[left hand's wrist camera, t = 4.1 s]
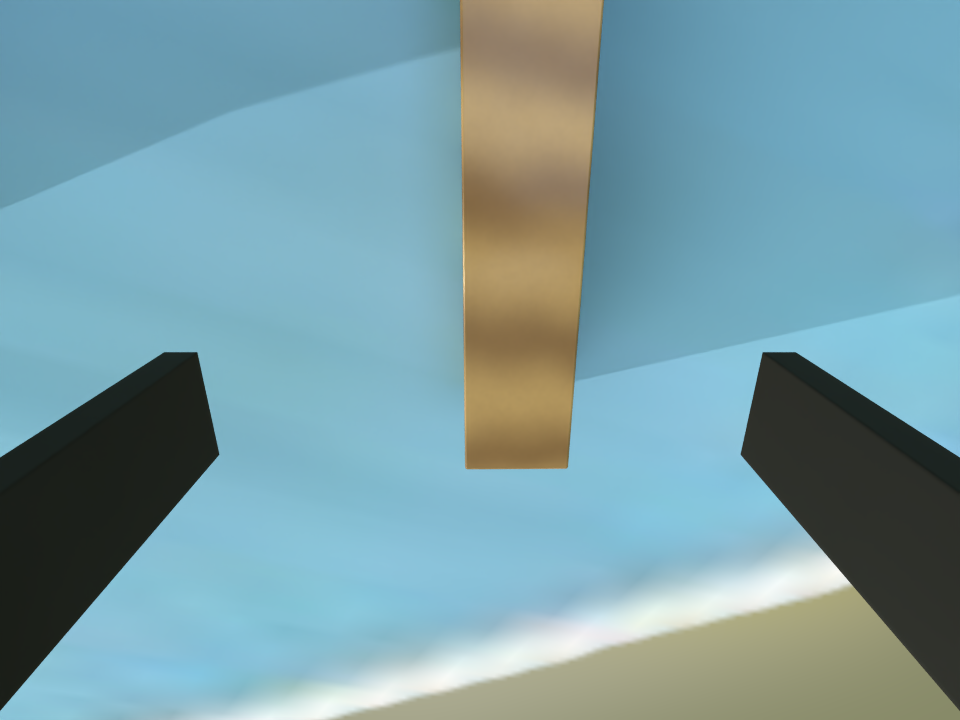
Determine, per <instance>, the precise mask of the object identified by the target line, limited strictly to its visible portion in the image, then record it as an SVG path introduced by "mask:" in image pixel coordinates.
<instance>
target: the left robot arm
mask: <svg viewBox="0 0 960 720" xmlns="http://www.w3.org/2000/svg"><path fill="white" fill-rule="evenodd" d="M218 456H219V451H218V446H217V441H216V437H215V432H214V428H213V423H212V418H211V414H210V409H209V404H208V400H207V395H206V391H205V386H204V381H203V377H202V372H201V367H200V363H199V358H198V354H197V352H164V353H162V354H161V355H159V356H158V357H156V358H155V359H153V360H152V361H150V362H148V363H147V364H145V365H144V366H142V367H141V368H139V369H138V370H136V371H134V372H133V373H131V374H130V375H128V376H127V377H125V378H124V379H122V380H120V381H119V382H117V383H116V384H114V385H113V386H111V387H109V388H108V389H106V390H105V391H103V392H102V393H100V394H99V395H97V396H95V397H94V398H92V399H91V400H89V401H88V402H86V403H85V404H83V405H81V406H80V407H78V408H77V409H75V410H74V411H72V412H70V413H69V414H67V415H66V416H64V417H63V418H61V419H60V420H58V421H56V422H55V423H53V424H52V425H50V426H49V427H47V428H46V429H44V430H42V431H41V432H39V433H38V434H36V435H35V436H33V437H32V438H30V439H28V440H27V441H25V442H24V443H22V444H21V445H19V446H17V447H16V448H14V449H13V450H11V451H10V452H8V453H7V454H5V455H3V456H2V457H0V710H1V709H2V708H3V707H4V706H5V705H6V703H7V702H8V701H9V700H10V699H11V698H12V696H13V695H14V694H15V693H16V692H17V691H18V689H19V688H20V687H21V686H22V685H23V683H24V682H25V681H26V680H27V679H28V678H29V676H30V675H31V674H32V673H33V672H34V671H35V669H36V668H37V667H38V666H39V665H40V664H41V662H42V661H43V660H44V659H45V658H46V657H47V655H48V654H49V653H50V652H51V651H52V650H53V648H54V647H55V646H56V645H57V644H58V643H59V641H60V640H61V639H62V638H63V637H64V636H65V634H66V633H67V632H68V631H69V630H70V629H71V627H72V626H73V625H74V624H75V623H76V622H77V620H78V619H79V618H80V617H81V616H82V615H83V613H84V612H85V611H86V610H87V609H88V608H89V606H90V605H91V604H92V603H93V602H94V601H95V599H96V598H97V597H98V596H99V595H100V593H101V592H102V591H103V590H104V589H105V588H106V586H107V585H108V584H109V583H110V582H111V581H112V579H113V578H114V577H115V576H116V575H117V574H118V572H119V571H120V570H121V569H122V568H123V567H124V565H125V564H126V563H127V562H128V561H129V560H130V558H131V557H132V556H133V555H134V554H135V553H136V551H137V550H138V549H139V548H140V547H141V546H142V544H143V543H144V542H145V541H146V540H147V539H148V537H149V536H150V535H151V534H152V533H153V532H154V530H155V529H156V528H157V527H158V526H159V525H160V523H161V522H162V521H163V520H164V519H165V518H166V516H167V515H168V514H169V513H170V512H171V511H172V509H173V508H174V507H175V506H176V505H177V503H178V502H179V501H180V500H181V499H182V498H183V496H184V495H185V494H186V493H187V492H188V491H189V489H190V488H191V487H192V486H193V485H194V484H195V482H196V481H197V480H198V479H199V478H200V477H201V475H202V474H203V473H204V472H205V471H206V470H207V468H208V467H209V466H210V465H211V464H212V463H213V461H214V460H215V459H216V458H217V457H218ZM741 456H742V457H743V458H744V459H745V460H746V461H747V463H748V464H749V465H750V466H751V467H752V468H753V470H754V471H755V472H756V473H757V474H758V475H759V477H760V478H761V479H762V480H763V481H764V482H765V484H766V485H767V486H768V487H769V488H770V489H771V491H772V492H773V493H774V494H775V495H776V496H777V498H778V499H779V500H780V501H781V502H782V503H783V505H784V506H785V507H786V508H787V509H788V511H789V512H790V513H791V514H792V515H793V516H794V518H795V519H796V520H797V521H798V522H799V523H800V525H801V526H802V527H803V528H804V529H805V530H806V532H807V533H808V534H809V535H810V536H811V537H812V539H813V540H814V541H815V542H816V543H817V544H818V546H819V547H820V548H821V549H822V550H823V551H824V553H825V554H826V555H827V556H828V557H829V558H830V560H831V561H832V562H833V563H834V564H835V565H836V567H837V568H838V569H839V570H840V571H841V572H842V574H843V575H844V576H845V577H846V578H847V579H848V581H849V582H850V583H851V584H852V585H853V586H854V588H855V589H856V590H857V591H858V592H859V593H860V595H861V596H862V597H863V598H864V599H865V600H866V602H867V603H868V604H869V605H870V606H871V608H872V609H873V610H874V611H875V612H876V613H877V615H878V616H879V617H880V618H881V619H882V620H883V622H884V623H885V624H886V625H887V626H888V627H889V629H890V630H891V631H892V632H893V633H894V634H895V636H896V637H897V638H898V639H899V640H900V641H901V643H902V644H903V645H904V646H905V647H906V648H907V650H908V651H909V652H910V653H911V654H912V655H913V656H914V658H915V659H916V660H917V661H918V662H919V664H920V665H921V666H922V667H923V668H924V669H925V671H926V672H927V673H928V674H929V675H930V676H931V677H932V679H933V680H934V681H935V682H936V683H937V685H938V686H939V687H940V688H941V689H942V690H943V692H944V693H945V694H946V695H947V696H948V697H949V699H950V700H951V701H952V702H953V703H954V704H955V706H956V707H957V708H958V709H959V710H960V457H958V456H957V455H955V454H953V453H952V452H950V451H949V450H947V449H946V448H944V447H943V446H941V445H939V444H938V443H936V442H935V441H933V440H932V439H930V438H928V437H927V436H925V435H924V434H922V433H921V432H919V431H918V430H916V429H914V428H913V427H911V426H910V425H908V424H907V423H905V422H904V421H902V420H900V419H899V418H897V417H896V416H894V415H893V414H891V413H890V412H888V411H886V410H885V409H883V408H882V407H880V406H879V405H877V404H875V403H874V402H872V401H871V400H869V399H868V398H866V397H865V396H863V395H861V394H860V393H858V392H857V391H855V390H854V389H852V388H851V387H849V386H847V385H846V384H844V383H843V382H841V381H840V380H838V379H836V378H835V377H833V376H832V375H830V374H829V373H827V372H826V371H824V370H822V369H821V368H819V367H818V366H816V365H815V364H813V363H812V362H810V361H808V360H807V359H805V358H804V357H802V356H801V355H799V354H798V353H796V352H763V354H762V358H761V363H760V367H759V372H758V377H757V381H756V386H755V391H754V395H753V400H752V404H751V409H750V414H749V418H748V423H747V428H746V432H745V437H744V441H743V446H742V451H741Z"/></svg>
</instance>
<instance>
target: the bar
mask: <svg viewBox="0 0 960 720" xmlns="http://www.w3.org/2000/svg"><path fill="white" fill-rule="evenodd" d="M603 6H604V0H460V45H461V135H462V226H463V316H464V407H465V468H466V469H566V468H567V467H568V459H569V446H570V433H571V420H572V407H573V394H574V381H575V368H576V355H577V343H578V330H579V317H580V304H581V291H582V278H583V265H584V252H585V239H586V226H587V213H588V200H589V187H590V174H591V161H592V148H593V135H594V122H595V109H596V97H597V84H598V71H599V58H600V45H601V32H602V19H603Z"/></svg>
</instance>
